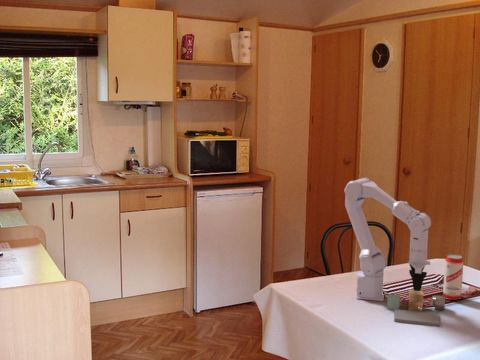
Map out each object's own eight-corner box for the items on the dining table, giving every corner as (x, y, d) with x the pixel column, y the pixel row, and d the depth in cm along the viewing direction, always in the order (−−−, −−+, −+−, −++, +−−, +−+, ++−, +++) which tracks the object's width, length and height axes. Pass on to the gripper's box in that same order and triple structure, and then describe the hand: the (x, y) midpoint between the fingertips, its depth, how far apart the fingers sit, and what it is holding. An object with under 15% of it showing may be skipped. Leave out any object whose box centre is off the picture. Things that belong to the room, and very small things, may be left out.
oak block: (408, 310, 190) (409, 294, 189) (408, 305, 195) (409, 289, 194) (422, 311, 189) (423, 295, 188) (421, 306, 193) (422, 290, 192)
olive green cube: (387, 309, 192) (387, 298, 191) (387, 304, 196) (387, 294, 195) (399, 310, 191) (399, 299, 190) (399, 305, 194) (399, 295, 194)
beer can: (462, 302, 197) (465, 259, 194) (444, 300, 198) (446, 258, 195) (459, 295, 203) (462, 254, 200) (441, 294, 204) (444, 253, 201)
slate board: (394, 321, 182) (394, 318, 181) (394, 311, 189) (394, 309, 189) (438, 326, 178) (439, 323, 178) (437, 316, 185) (437, 313, 185)
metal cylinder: (431, 310, 190) (432, 299, 190) (430, 305, 194) (431, 294, 194) (444, 311, 189) (445, 300, 188) (444, 306, 193) (444, 296, 193)
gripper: (431, 256, 180) (429, 295, 183) (429, 243, 194) (427, 280, 196) (409, 254, 182) (407, 293, 185) (408, 242, 196) (407, 278, 198)
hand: (416, 286), depth 191 cm, fingers open, 7 cm apart
